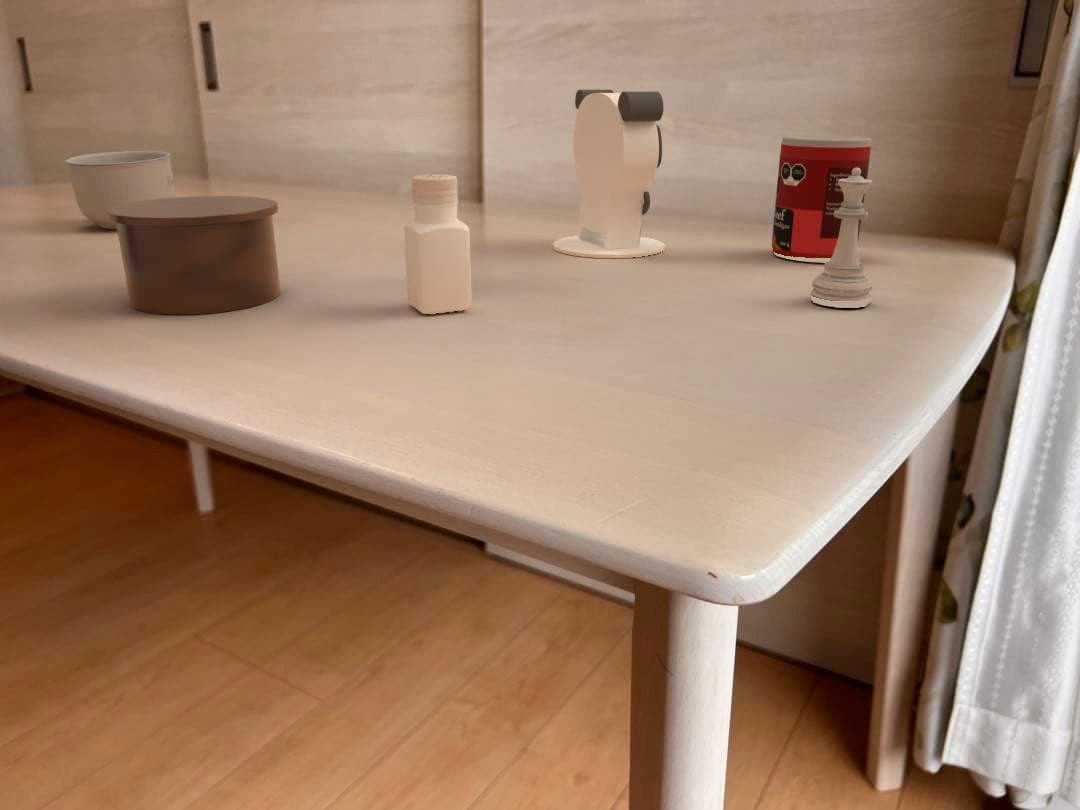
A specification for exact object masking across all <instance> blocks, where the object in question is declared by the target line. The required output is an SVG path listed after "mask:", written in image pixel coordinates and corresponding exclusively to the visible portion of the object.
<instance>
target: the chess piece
mask: <svg viewBox="0 0 1080 810" xmlns="http://www.w3.org/2000/svg"><path fill="white" fill-rule="evenodd" d="M860 174H861V169H860V168H854V169H853V170H852V176H849V177H848V178H847V179H839V180H838V184H839V185H840V187H841V189H842V192H843V194H844V202H842V203H841V206H842V207H840V208H839V210H835V211H834V217H837V218H841V219H842V221H841V227H840V232H839V237H838V241H837V244H836V247H835V250H834V253H833V256H832V258H831V260H830V262H826V263H824V270H823V271H822V272H821V273H820V274H818V275H816V276H815V277H814V279H813V280H812V284H811V285H812V289H811V290H810V294H811V295H812V296H813V297H816V298H819V299H824V300H830V301H860V300H866V299H868V298H870V297H871V298H872V295H871V293H870V292H871V291H872V288H873V285H872V282H871V280H869V278H867V277H866V275H864V272H863V271H864V269H865V265H864V264H863V263H860V259H859V250H858V249H859V247H858V246H859V244H858V245H857V236H858V224H859V219H861V220H866V219H868V217H869V212H868V211H866V210H865V208H864V203H861V202H862V198H863V195H864V193H865V194H866V192H867V191H868V189H869V188H870V187H871V186H872V185H873V180H872V179H867V180H866V179H864V178H863V177H861V176H860ZM862 207H863V208H862Z"/></svg>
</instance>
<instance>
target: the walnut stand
mask: <svg viewBox="0 0 1080 810" xmlns="http://www.w3.org/2000/svg"><path fill="white" fill-rule="evenodd" d="M278 212H279V203H278V202H277V201H276V200H273V199H270V198H265V197H256V196H243V195H200V196H199V195H197V196H178V197H176V198H164V199H153V200H145V201H137V202H131V203H125V204H121V205H117V206H114V207H111V208H109V209H108V210H107V217H108V219H109V220H110V221H111V222H115V223H116V225H117V237H118V242H119V248H120V253H121V254H120V255H121V259H122V265H123V270H124V271H123V272H124V276H125V277H124V278H125V282H126V287H127V288H126V289H127V294H128V299H129V304H130V307H132V308H133V309H135V310H137V311H141V312H144V313H150V314H155V315H157V314H158V315H172V316H186V315H187V316H188V315H189V316H190V315H192V316H193V315H207V314H217V313H226V312H233V311H239V310H244V309H249V308H252V307H257V306H260V305H264V304H267V303H268V302H272V301H273V300H275V299H276V298H278V297H279V296H280V294H281V287H280V286H281V284H280V274H279V266H278V256H277V247H276V238H275V229H274V227H275V226H274V219H273V218H274V217H273V216H274V215H276V214H277V213H278Z"/></svg>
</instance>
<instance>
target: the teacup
mask: <svg viewBox="0 0 1080 810" xmlns="http://www.w3.org/2000/svg"><path fill="white" fill-rule="evenodd" d="M171 157H172V156H171V153H170V152H167V151H159V150H123V151H111V152H109V151H107V152H98V153H89V154H88V153H87V154H80V155H77V156H73V157H70V158H68V159H66V160H65V161H64V162H65V165H66V166H67V169H68V174H69V177H70V182H71V186H72V189H73V193H74V197H75V201H76V204H77V206H78V209H79V211H80V212H81V214H82V215H83V216H84V217H85V218H86V219H88V220H89V221H91V222H93V223H95V224H96V225H98V226H99V228H102V229H105V230H115V231H116V230H117V225H116V223H115V222H111V221H110V220H109V219H108V217H107V210H108V209H109V208H111V207H114V206H117V205H121V204H125V203H131V202H137V201H145V200H153V199H164V198H176V186H175V180H174V174H173V167H172V163H171ZM117 231H118V230H117Z"/></svg>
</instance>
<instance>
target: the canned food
mask: <svg viewBox="0 0 1080 810" xmlns="http://www.w3.org/2000/svg"><path fill="white" fill-rule="evenodd" d="M781 139H782V140H781V144H780V145H781V146H780V153H779V159H778V161H779V162H778V173H777V181H776V182H777V184H776V193H775V204H774V214H773V225H772V234H771V235H772V237H771V249H772V253H773V252H775V253H777V254H781V255H784V256H791V257H792V256H793V257H805V258H832V256H833V253H834V250H835V247H836V244H837V241H838V237H839V232H840V227H841V221H842V219H841V218H837V217H834V211H835V210H839V208H840V207H842V206H841V203H842V202H844V194H843V192H842V189H841V187H840V185H839V184H838V180H839V179H847V178H848V177H849V176H852V170H853V169H854V168H860V169H861V174H860V176H861V177H863V178H864V179H866V180H868V176H869V175H868V174H869V167H870V159H871V151H872V138H870V137H866V136H855V135H835V134H828V135H827V134H792V135H785V136H783V137H782V138H781ZM865 196H866V192H865V193H864V195H863V198H862V202H861V203H863V204H864V202H865ZM862 208H864V206H863V207H862ZM861 223H862V219H859V224H858V236H857V245H858V246H859V239H860V231H861V225H862V224H861Z"/></svg>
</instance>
